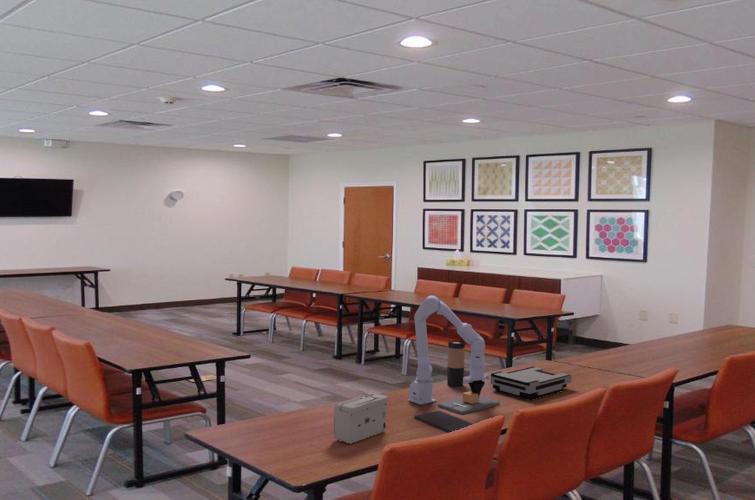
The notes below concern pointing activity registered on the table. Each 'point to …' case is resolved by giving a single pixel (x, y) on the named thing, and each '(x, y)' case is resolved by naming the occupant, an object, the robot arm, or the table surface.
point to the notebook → (442, 421)
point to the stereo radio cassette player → (360, 417)
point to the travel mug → (455, 363)
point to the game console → (529, 382)
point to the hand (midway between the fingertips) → (475, 398)
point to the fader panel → (468, 405)
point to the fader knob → (470, 397)
